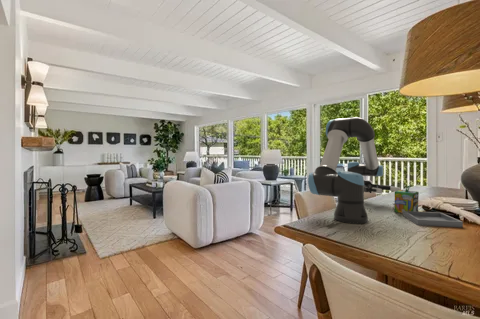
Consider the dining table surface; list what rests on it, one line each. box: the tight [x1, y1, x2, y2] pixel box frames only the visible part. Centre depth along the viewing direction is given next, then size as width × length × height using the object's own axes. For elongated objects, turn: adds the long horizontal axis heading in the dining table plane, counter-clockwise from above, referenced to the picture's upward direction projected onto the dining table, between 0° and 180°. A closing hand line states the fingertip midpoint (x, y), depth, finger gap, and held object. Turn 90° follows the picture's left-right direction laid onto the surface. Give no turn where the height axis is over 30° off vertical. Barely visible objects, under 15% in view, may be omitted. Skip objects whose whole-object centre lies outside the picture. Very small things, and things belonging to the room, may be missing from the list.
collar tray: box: [402, 211, 464, 228], centre depth 118 cm, size 17×17×2 cm
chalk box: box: [393, 185, 420, 214], centre depth 135 cm, size 9×9×15 cm
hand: (391, 190), depth 144 cm, fingers open, 13 cm apart
